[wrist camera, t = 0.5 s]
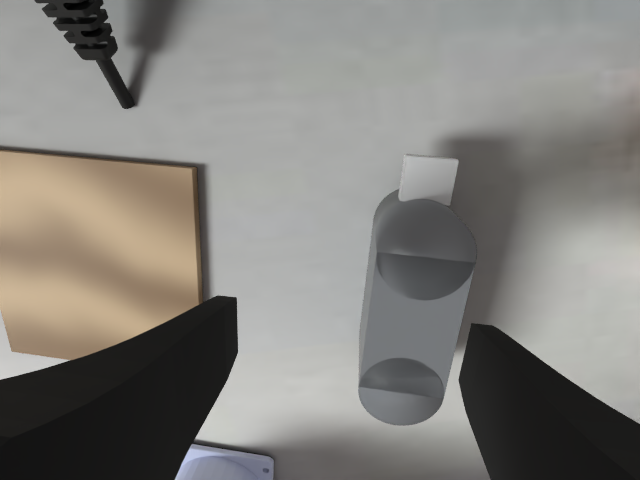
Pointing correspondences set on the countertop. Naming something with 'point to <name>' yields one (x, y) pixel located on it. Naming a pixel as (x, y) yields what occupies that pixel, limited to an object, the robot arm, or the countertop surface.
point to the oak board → (94, 250)
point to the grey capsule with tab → (414, 294)
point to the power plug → (90, 38)
